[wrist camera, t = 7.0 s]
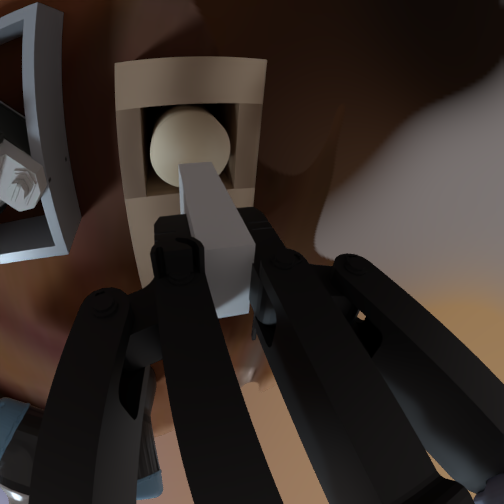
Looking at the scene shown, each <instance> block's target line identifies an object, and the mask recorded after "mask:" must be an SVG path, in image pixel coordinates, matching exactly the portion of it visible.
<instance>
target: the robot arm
mask: <svg viewBox="0 0 504 504" xmlns="http://www.w3.org/2000/svg"><path fill="white" fill-rule="evenodd" d="M178 167H179V193H180V212H181V214H178V215H169V216H161V217H159V218H158V219H157V221H156V222H155V224H154V245H153V246H152V248H151V251H150V258H151V263H152V269H153V274H154V278H153V280H152V281H151V282H150V283H149V284H148V285H147V286H146V287H144V288H143V289H141V290H139V291H137V292H134V293H132V294H129V295H127V294H126V293H124V292H123V291H122V290H120V289H116V288H112V287H111V288H102V289H99V290H97V291H94V292H93V293H91V294H90V295H89V296H87V297H86V299H85V300H84V301H83V303H82V304H81V307H80V309H79V311H78V314H77V316H76V319H75V321H74V324H73V326H72V329H71V331H70V334H69V336H68V339H67V341H66V344H65V347H64V350H63V352H62V355H61V358H60V361H59V364H58V367H57V370H56V373H55V376H54V379H53V382H52V386H51V389H50V392H49V396H48V399H47V403H46V407H45V410H42V409H39V408H36V407H34V406H31V405H30V403H23V402H20V401H17V400H14V399H11V398H2V399H0V487H1V488H2V490H3V491H4V492H5V493H6V494H7V496H8V499H9V504H136V500H142V499H150V498H156V497H158V496H160V495H161V494H162V491H163V484H162V476H161V469H160V466H159V462H158V457H157V452H156V447H155V441H154V436H153V430H152V424H151V417H150V414H151V409H152V405H153V400H154V396H155V392H156V377H155V372H154V371H153V369H152V368H151V367H150V364H153V363H155V362H157V361H159V360H162V359H163V364H164V371H165V377H166V384H167V390H168V395H169V401H170V406H171V412H172V417H173V422H174V426H175V431H176V436H177V440H178V445H179V449H180V453H181V457H182V461H183V465H184V468H185V473H186V477H187V480H188V484H189V487H190V491H191V494H192V497H193V501H194V504H283V501H282V499H281V497H280V494H279V492H278V489H277V487H276V485H275V482H274V479H273V477H272V474H271V472H270V469H269V467H268V464H267V462H266V459H265V456H264V454H263V451H262V448H261V446H260V443H259V440H258V438H257V435H256V432H255V429H254V427H253V424H252V421H251V419H250V415H249V413H248V410H247V407H246V404H245V401H244V398H243V395H242V393H241V389H240V386H239V383H238V380H237V377H236V374H235V371H234V368H233V365H232V362H231V359H230V356H229V352H228V349H227V346H226V343H225V340H224V336H223V333H222V330H221V326H220V323H219V320H218V318H223V317H229V316H235V315H241V314H246V313H249V304H250V303H251V306H252V308H253V311H254V318H253V326H252V334H251V336H252V340H255V339H256V333H257V335H258V338H259V340H260V343H261V345H262V348H263V350H264V353H265V355H266V358H267V360H268V363H269V365H270V367H271V370H272V372H273V375H274V377H275V380H276V382H277V385H278V387H279V389H280V392H281V394H282V397H283V399H284V401H285V404H286V406H287V409H288V411H289V413H290V415H291V418H292V420H293V423H294V425H295V427H296V429H297V432H298V434H299V437H300V439H301V441H302V444H303V446H304V448H305V450H306V453H307V455H308V457H309V460H310V462H311V464H312V466H313V469H314V471H315V473H316V475H317V478H318V480H319V482H320V484H321V486H322V489H323V491H324V493H325V495H326V498H327V500H328V502H329V504H504V384H503V383H502V382H501V381H500V380H499V379H498V378H497V377H496V376H495V375H494V374H493V373H492V372H491V371H490V369H489V368H488V367H486V366H485V364H484V363H483V362H482V361H481V360H480V359H479V358H478V357H477V356H475V355H474V354H473V353H472V352H471V351H470V350H469V349H468V348H467V347H466V346H465V345H464V344H463V343H462V342H461V341H460V340H459V339H458V338H457V337H456V336H455V335H454V334H453V333H452V332H450V331H449V330H448V329H447V328H446V327H445V326H444V325H443V324H442V323H441V322H440V321H439V320H437V319H436V318H435V317H434V316H433V315H432V314H431V313H430V312H429V311H427V310H426V309H425V308H424V307H423V306H422V305H421V304H420V303H418V302H417V301H416V300H415V299H414V298H413V297H411V296H410V295H409V294H408V293H407V292H406V291H404V290H403V289H402V288H401V287H400V286H398V285H397V284H396V283H395V282H394V281H393V280H391V279H390V278H389V277H388V276H387V275H385V274H384V273H383V272H382V271H380V270H379V269H378V268H377V267H376V266H374V265H373V264H372V263H371V262H369V261H368V260H366V259H365V258H363V257H361V256H358V255H355V254H342V255H339V256H338V257H336V258H335V261H334V264H333V266H323V265H313V264H309V263H308V262H307V260H306V259H305V258H304V257H303V256H302V255H301V254H300V253H298V252H296V251H294V250H291V249H287V248H286V247H285V246H284V244H283V243H282V241H281V240H280V238H279V237H278V235H277V234H276V232H275V231H274V229H273V228H272V226H271V225H270V223H269V222H268V220H267V219H266V217H265V216H264V214H263V213H262V212H261V211H259V210H258V209H256V208H254V207H241V208H236V207H235V205H234V203H233V201H232V199H231V197H230V195H229V194H228V192H227V190H226V188H225V186H224V184H223V182H222V181H221V179H220V177H219V175H218V173H217V171H216V169H215V168H214V166H213V164H212V162H199V163H185V164H178ZM359 311H361V312H362V313H363V314H364V315H365V316H366V318H365V320H361V319H359V318H358V317H357V315H358V313H359ZM426 451H427V452H428V453H429V454H430V455H431V456H432V457H433V458H434V459H435V460H436V461H437V462H438V463H439V464H440V465H441V467H442V468H443V469H444V470H445V471H446V472H447V473H448V474H449V475H450V476H451V477H452V478H453V479H454V480H455V481H453V480H449V479H445V478H443V477H442V476H440V474H439V473H438V472H437V471H436V469H435V467H434V465H433V463H432V461H431V459H430V457H429V456H428V454H427V452H426ZM468 490H469V491H471V492H473V493H476V496H475V498H474V500H473V499H472V497H471V495H470V493H469V492H468Z"/></svg>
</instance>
